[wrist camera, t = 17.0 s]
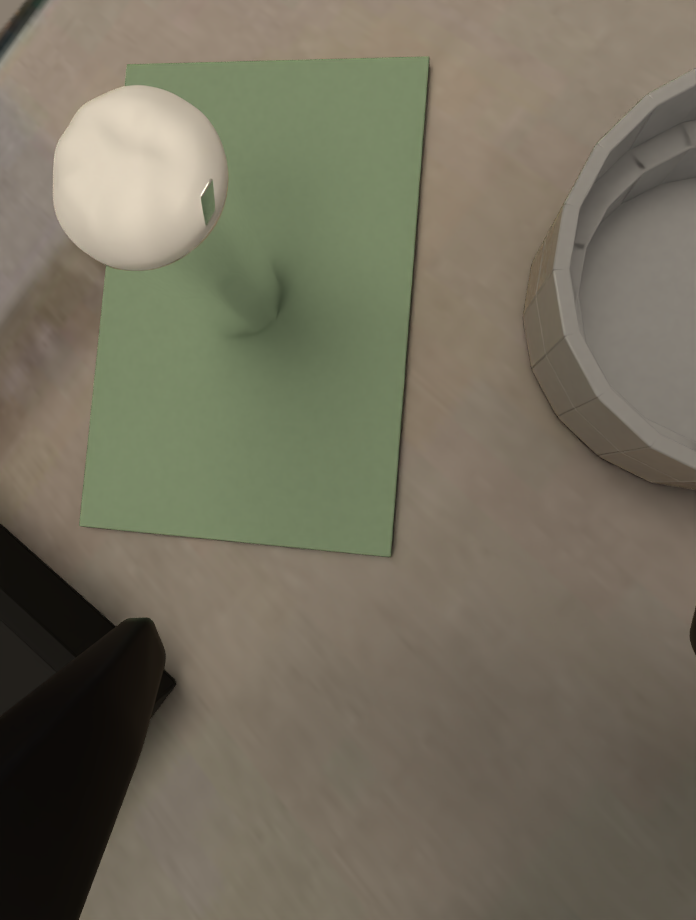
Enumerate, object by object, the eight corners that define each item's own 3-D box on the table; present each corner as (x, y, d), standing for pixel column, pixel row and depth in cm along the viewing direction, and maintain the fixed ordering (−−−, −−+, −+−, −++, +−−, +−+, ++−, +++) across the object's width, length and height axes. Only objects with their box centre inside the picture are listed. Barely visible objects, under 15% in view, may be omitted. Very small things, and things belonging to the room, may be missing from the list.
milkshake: (277, 383, 20) (149, 284, 10) (170, 318, 21) (-44, 169, 11) (336, 285, 20) (263, 92, 10) (227, 224, 21) (61, -12, 11)
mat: (391, 556, 20) (390, 557, 19) (84, 525, 21) (78, 526, 21) (429, 63, 21) (429, 55, 20) (131, 71, 22) (126, 63, 22)
